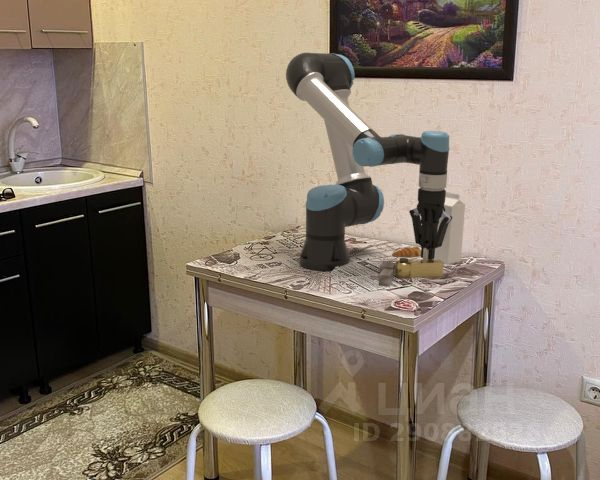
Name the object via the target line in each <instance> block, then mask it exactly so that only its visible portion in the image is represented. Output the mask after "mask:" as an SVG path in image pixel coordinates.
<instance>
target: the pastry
mask: <svg viewBox="0 0 600 480" xmlns="http://www.w3.org/2000/svg"><path fill="white" fill-rule="evenodd" d="M392 257H394V258H417V257H420V258H421V248H420V247H419V246H413V247H410V246H409V247H403V248H401V249H400V250H395V251H394V252H392Z"/></svg>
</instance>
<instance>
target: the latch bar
mask: <svg viewBox="0 0 600 480" xmlns="http://www.w3.org/2000/svg"><path fill="white" fill-rule="evenodd" d="M399 261H400V259H399V260H397V261H395V273H394V276H395V277H396V278H399V279H410V278H426V277H427V278H431V277H432V278H434V277H436V278H437V277H443V275H444V274H443V273H444V263H443V262H442V261H441V260H433V259H432V260H423V259H417V260H408V263H401V262H399Z"/></svg>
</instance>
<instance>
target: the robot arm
mask: <svg viewBox="0 0 600 480" xmlns="http://www.w3.org/2000/svg"><path fill="white" fill-rule="evenodd" d="M285 78H286V79H285V80H286V83H287V85H288V87H289V90H290V92H291V93H293V94H294V95H295V96H296V97H297V99H298V100H300V101H302V102H306V103H307V104H308V105H309V106H310V107H311V108H312V109H313V110H314V111H315V112H316V113H317V114H318V115H319V116H320V117H321V118H322V119H323V121H324V125H325V129H326V134H327V139H328V141H329V147H330V150H331V155H332V159H333V164H334V168H335V172H336V177H337V181H336V183H335V184H323V185H317V186H315V187H312V188H311V189H309V190H308V191H307V194H306V202H305V240H304V242H303V245H302V248H301V251H300V254H299V265H300V266H301V267H303V268H305V269H308V270H314V271H321V272H323V271H324V272H327V271H329V272H332V271H333V270H334V269H336V268H337V267H342V266H345V265H348V264H349V263H350V261H351V259H350V254H349V251H348V247H347V244H346V240H345V239H346V238H345V237H346V235H345V234H346V228H347V227H352V226H359V225H366V224H368V223H372V222H374V221H376V220H377V219H378V218H379V217H380V216H381V213H382V212H383V210H384V207H385V198H384V194H383V192H382V190H381V189H380V188H379V186H377V185H375V184H373V180H372V177H371V176H370V175H368V174H367V173H366V172H365V168H364V167H370V168H372V167H379V166H386V165H396V164H403V163H404V164H406V163H407V164H413V165H418V166H419V174H418V186H419V188H418V189H417V204H416V207H415V208H413V209H409V210H408V211H409V215H410V217H411V222H412V227H413V235H414V240H415V244H416V245H419V246H420V247H421V248H420V249H421V256H420V258H422V260H433V259H434V255H435V248H438V247H441V246H442V243H443V240H444V237H445V234H446V230H447V227H448V224H449V222H450V221H451V220H452V216H448V215H447V214H446V213H445V208H444V203H445V197H446V192H447V191H446V188H447V179H448V163H449V155H450V154H449V153H450V136H449V134H448V132H445V131H439V130H438V131H437V130H426V131H423V132H422V133H421V135H420V137H419V136H411V135H405V134H401V133H399V134H397V133H396V134H395V133H394V134H390V135H389V136H380V135H379V134H378V133H377V132H376V131H375V130H373V128H372V127H371V126H370V125H369V124H367V122H366V121H365V120H363V118H361V117H360V116H359V115H358V113H356V112H355V110H353V109H352V107H350V104H349V100H348V99H349V97H350V95H351V93H352V91H351V89H352V87H353V85H354V80H355V69H354V66H353V64H352V62H351V61H350V59H349V58H348V57H346V56H344V55H342V54H337V53H333V52H332V53H331V52H329V53H328V52H327V53H325V52H324V53H321V52H319V53H317V52H302V53H298V54H297V55H295V56H294V57H293V58H292V59H291V60H290V61H289V63H288V65H287V68H286V71H285ZM441 217H442V218H441ZM440 218H441V223H440V226H439V229H438V224H439V219H440ZM437 229H438V232H437Z"/></svg>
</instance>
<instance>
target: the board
mask: <svg viewBox="0 0 600 480" xmlns="http://www.w3.org/2000/svg"><path fill="white" fill-rule="evenodd" d="M399 260H400V261H399V262H401V263H408V261H409V258H408V257H399ZM378 267H379V268H378V269H379V272H378V286H381V287H382V286H383V287H390V286H391V284H392V282H393V281H394V276H395V268H396V262H390V261H382V262H381V264H379V266H378Z"/></svg>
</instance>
